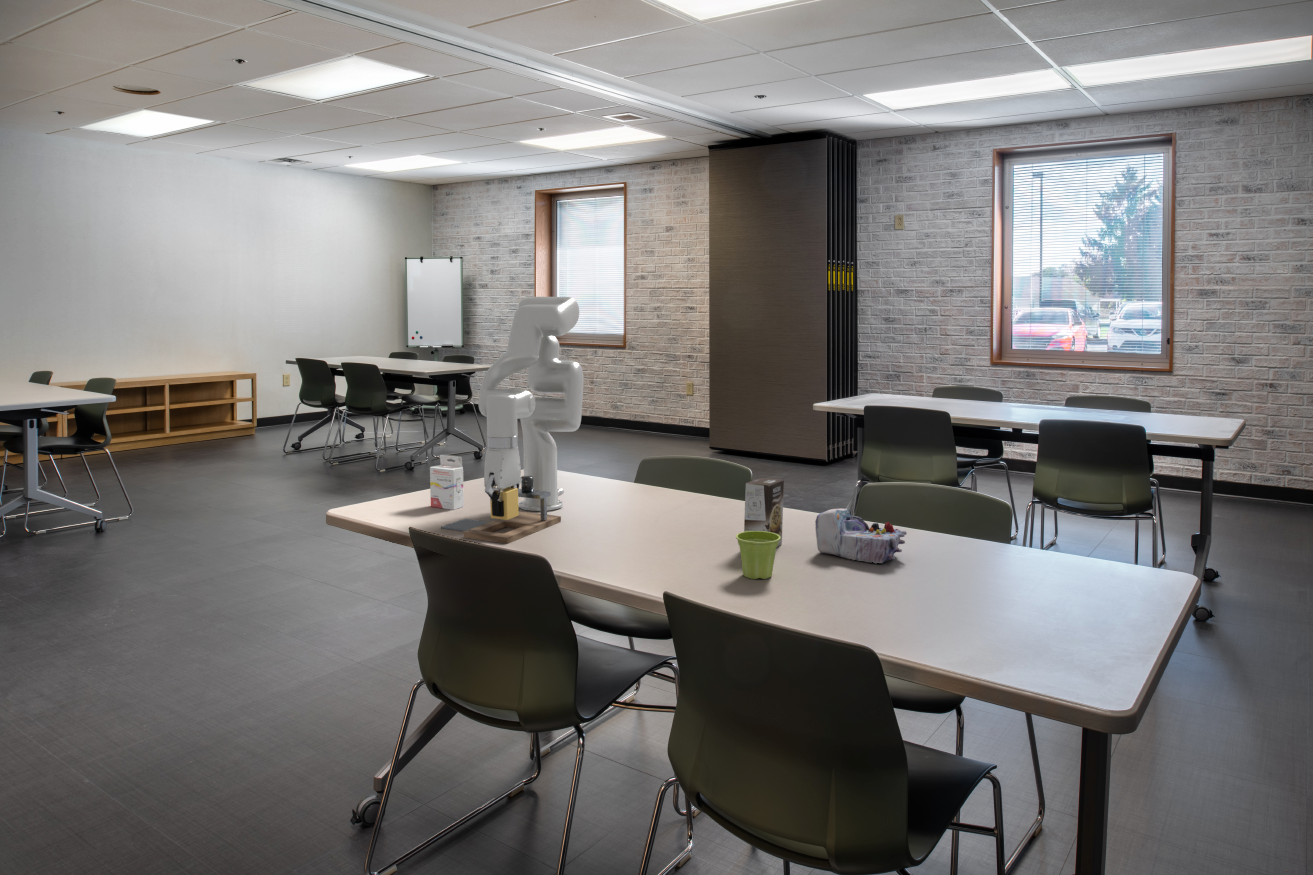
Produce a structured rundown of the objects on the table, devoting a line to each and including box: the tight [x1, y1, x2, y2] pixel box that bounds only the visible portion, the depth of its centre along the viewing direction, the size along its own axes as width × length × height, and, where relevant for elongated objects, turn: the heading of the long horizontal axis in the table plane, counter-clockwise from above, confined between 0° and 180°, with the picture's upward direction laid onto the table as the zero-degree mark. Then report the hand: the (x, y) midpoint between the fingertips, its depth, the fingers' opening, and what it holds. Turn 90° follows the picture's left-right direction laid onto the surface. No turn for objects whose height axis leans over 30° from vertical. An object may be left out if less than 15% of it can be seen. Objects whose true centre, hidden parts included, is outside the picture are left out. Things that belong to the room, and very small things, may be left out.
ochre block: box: [489, 487, 520, 520], centre depth 217 cm, size 5×5×7 cm
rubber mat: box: [440, 518, 490, 532], centre depth 224 cm, size 10×10×1 cm
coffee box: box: [743, 477, 785, 548], centre depth 205 cm, size 9×6×16 cm
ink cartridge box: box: [429, 454, 465, 511], centre depth 245 cm, size 9×5×15 cm, turn 65°
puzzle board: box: [462, 511, 562, 544], centre depth 221 cm, size 25×13×2 cm, turn 155°
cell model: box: [814, 508, 908, 564], centre depth 198 cm, size 13×11×20 cm
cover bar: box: [518, 475, 551, 520], centre depth 226 cm, size 5×11×11 cm, turn 65°
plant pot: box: [735, 531, 781, 580], centre depth 183 cm, size 9×9×9 cm
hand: (504, 512), depth 217 cm, fingers closed on ochre block, 5 cm apart
